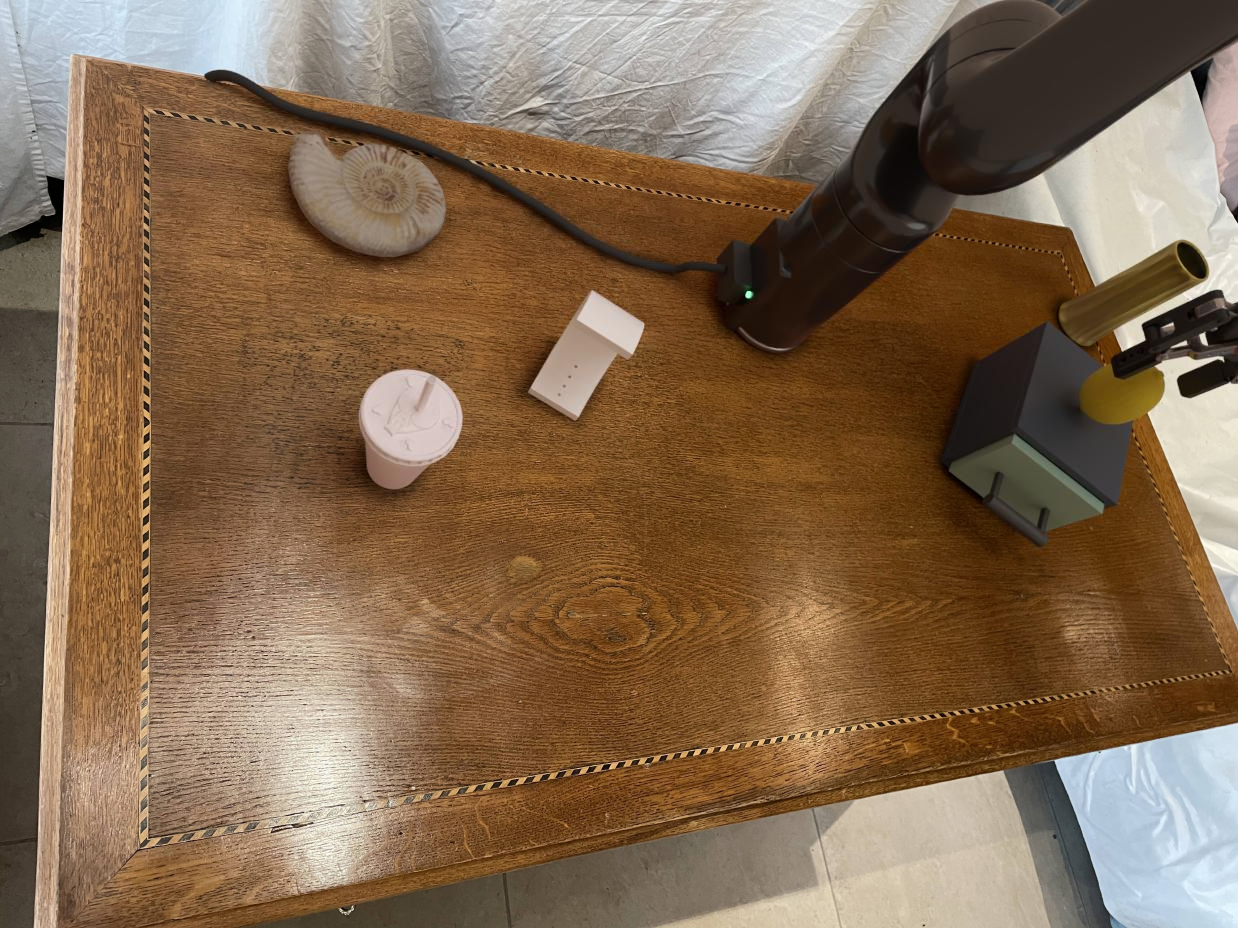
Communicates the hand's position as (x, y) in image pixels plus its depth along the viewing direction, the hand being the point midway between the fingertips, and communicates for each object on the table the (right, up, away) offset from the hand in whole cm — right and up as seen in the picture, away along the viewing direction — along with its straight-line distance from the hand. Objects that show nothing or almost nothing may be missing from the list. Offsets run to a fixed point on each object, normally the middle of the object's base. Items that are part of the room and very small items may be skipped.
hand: (1148, 379), depth 70 cm
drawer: (-8, -8, +11) cm, 16 cm away
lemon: (-3, -2, +6) cm, 7 cm away
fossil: (-68, +13, -6) cm, 69 cm away
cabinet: (-6, -6, +14) cm, 16 cm away
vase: (+9, +9, +27) cm, 30 cm away
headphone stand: (-52, -1, -4) cm, 52 cm away
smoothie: (-64, -8, -12) cm, 65 cm away
